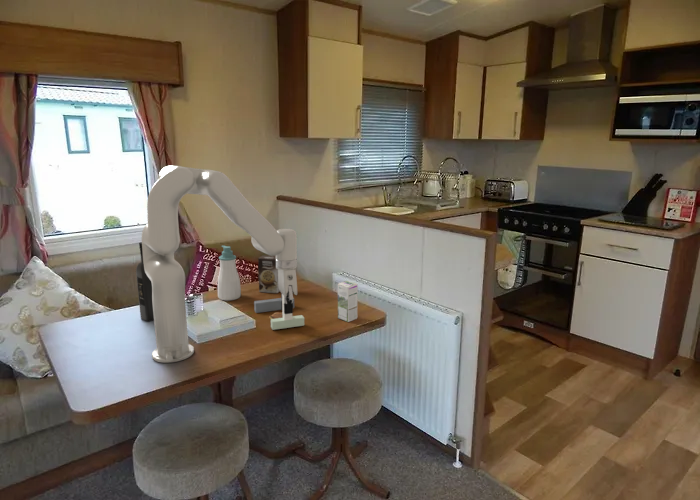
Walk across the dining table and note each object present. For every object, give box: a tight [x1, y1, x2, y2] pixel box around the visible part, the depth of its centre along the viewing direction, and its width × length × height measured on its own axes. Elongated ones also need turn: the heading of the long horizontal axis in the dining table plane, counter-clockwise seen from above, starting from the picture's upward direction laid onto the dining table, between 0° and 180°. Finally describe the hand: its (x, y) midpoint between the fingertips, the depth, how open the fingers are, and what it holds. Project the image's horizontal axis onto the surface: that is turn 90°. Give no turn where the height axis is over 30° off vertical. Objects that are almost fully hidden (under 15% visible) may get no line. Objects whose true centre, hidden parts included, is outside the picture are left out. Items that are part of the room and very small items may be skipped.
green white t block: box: [270, 294, 305, 331], centre depth 167 cm, size 12×3×13 cm, turn 112°
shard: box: [268, 311, 283, 320], centre depth 175 cm, size 11×8×2 cm
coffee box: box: [257, 254, 280, 294], centre depth 208 cm, size 9×6×16 cm
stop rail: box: [253, 297, 295, 314], centre depth 186 cm, size 3×16×4 cm, turn 113°
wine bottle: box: [135, 241, 154, 322], centre depth 172 cm, size 6×6×30 cm
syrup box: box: [337, 280, 359, 323], centre depth 176 cm, size 6×6×14 cm
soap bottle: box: [217, 245, 242, 301], centre depth 198 cm, size 10×10×23 cm
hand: (287, 311), depth 167 cm, fingers closed on green white t block, 3 cm apart
